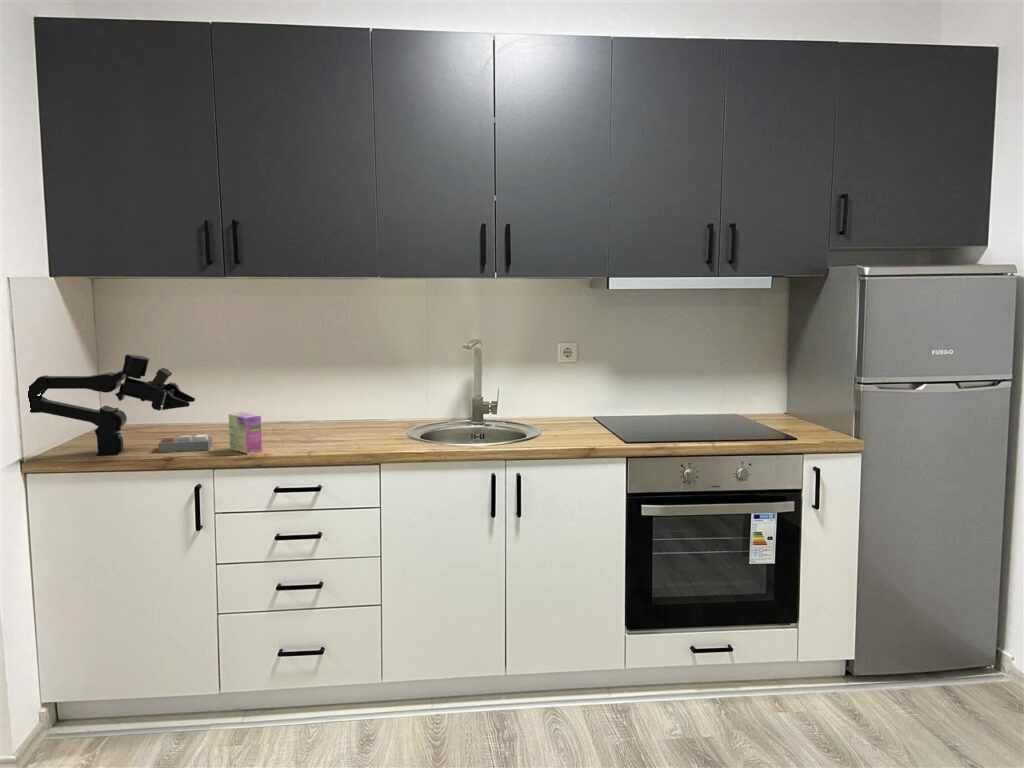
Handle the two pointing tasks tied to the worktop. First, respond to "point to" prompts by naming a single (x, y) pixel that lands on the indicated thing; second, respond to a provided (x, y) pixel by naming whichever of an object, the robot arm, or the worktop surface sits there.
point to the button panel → (185, 445)
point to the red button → (169, 439)
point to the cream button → (201, 437)
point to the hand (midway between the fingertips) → (192, 402)
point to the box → (245, 432)
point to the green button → (185, 438)
